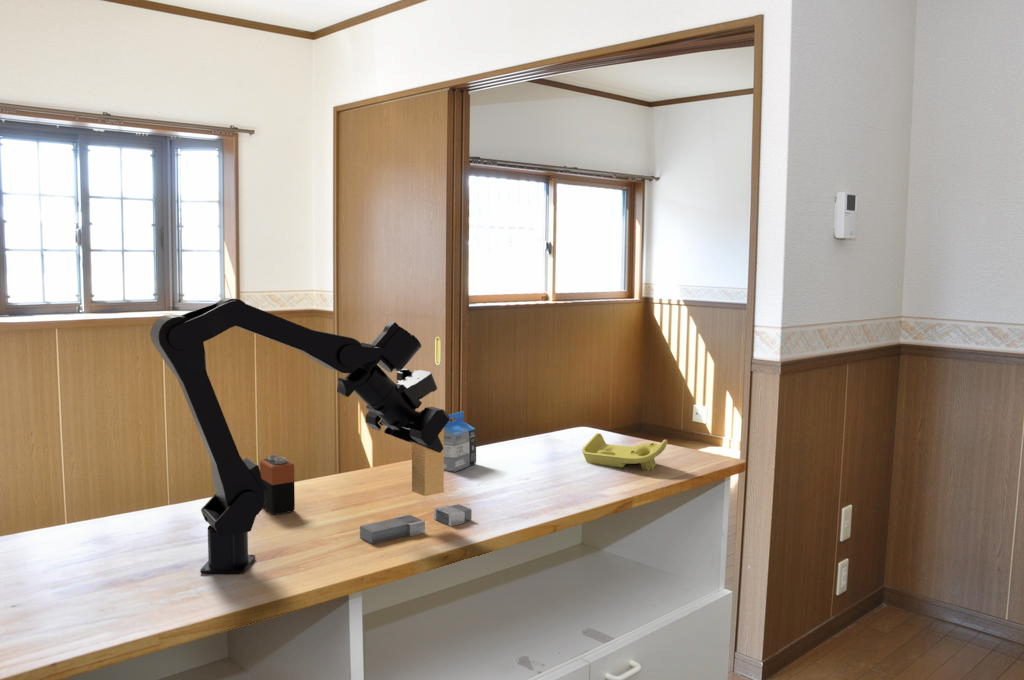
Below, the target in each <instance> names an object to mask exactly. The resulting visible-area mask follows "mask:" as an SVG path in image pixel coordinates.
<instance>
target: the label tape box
mask: <svg viewBox="0 0 1024 680" xmlns="http://www.w3.org/2000/svg"><path fill="white" fill-rule="evenodd" d="M464 413H465V411H464V410H461V411H459V412H458V411H457V412H454V413H450V414H448V415H449V416H450V420H452V419H455V420H452V421H450V420H449V421H448V423H447V424H446V425H445V427H444V471H447V472H455V473H456V472H458V471H460V470H463V469H466V468H469V467H471V466H474V465H476V464H477V431H476V428H475V427H473V426H472V425H470V424H468V423H466V422H465V421H464Z"/></svg>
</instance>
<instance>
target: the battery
mask: <svg viewBox="0 0 1024 680" xmlns="http://www.w3.org/2000/svg"><path fill="white" fill-rule="evenodd" d="M259 469H260V474H261V479H262V481H263V483H264V485H265V486H266V487H267V488H268V490H264V492H265V497H266V503H265V504H264V506H263V508H264V509H265V510H266V511H267V512H269V513H271V514H272V515H279V514H285V513H292V512H294V511H295V510H296V508H295V507H296V505H295V503H296V502H295V499H296V498H295V496H296V494H295V464H294V463H293V462H291V461H289V460H287V458H286V457H284V456H278V454H269V456H268V458H262V459H260V460H259ZM263 508H262V509H263Z"/></svg>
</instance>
